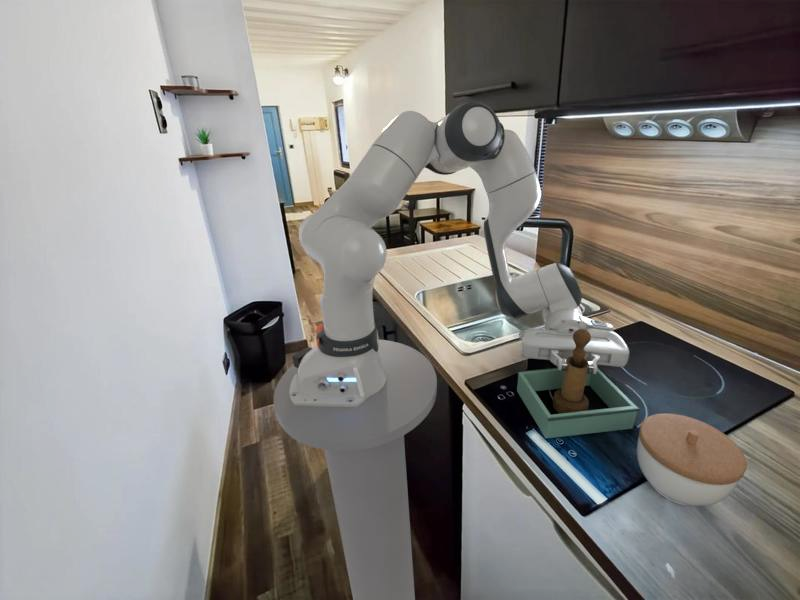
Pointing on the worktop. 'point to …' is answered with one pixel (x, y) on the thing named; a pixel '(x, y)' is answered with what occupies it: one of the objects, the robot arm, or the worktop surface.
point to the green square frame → (575, 422)
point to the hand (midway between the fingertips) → (577, 369)
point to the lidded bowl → (688, 459)
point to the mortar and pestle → (574, 378)
